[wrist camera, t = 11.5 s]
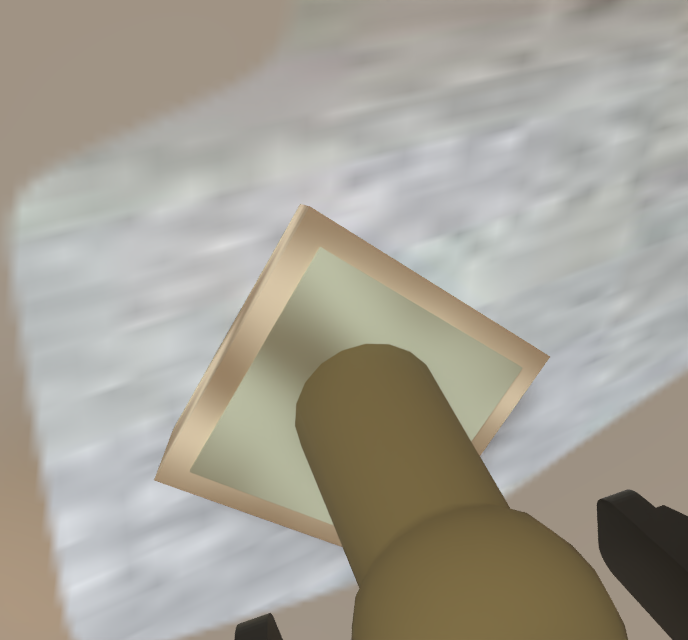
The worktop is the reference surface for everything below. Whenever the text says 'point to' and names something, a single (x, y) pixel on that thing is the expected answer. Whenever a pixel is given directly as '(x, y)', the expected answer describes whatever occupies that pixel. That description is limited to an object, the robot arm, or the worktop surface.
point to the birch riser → (315, 348)
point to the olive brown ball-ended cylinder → (434, 515)
